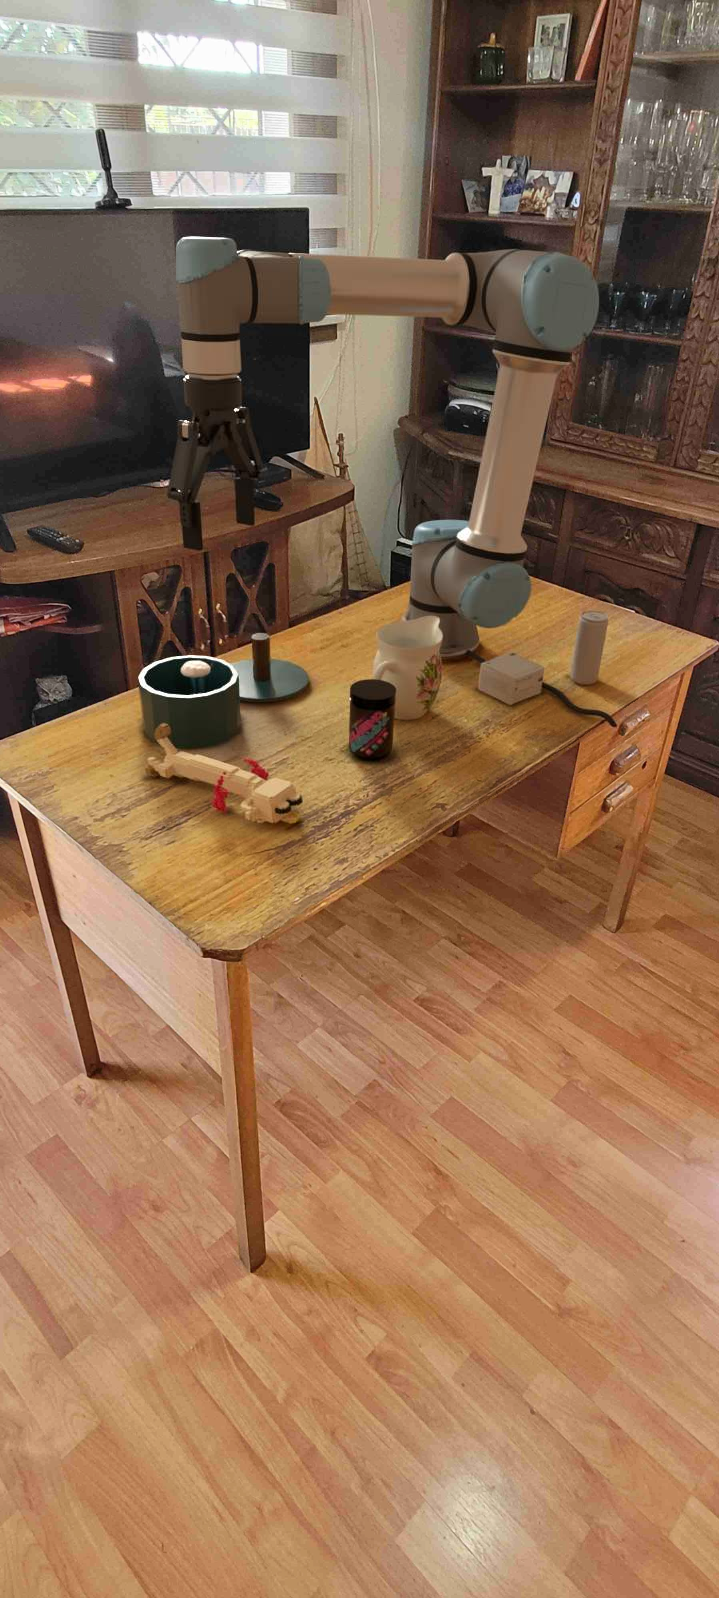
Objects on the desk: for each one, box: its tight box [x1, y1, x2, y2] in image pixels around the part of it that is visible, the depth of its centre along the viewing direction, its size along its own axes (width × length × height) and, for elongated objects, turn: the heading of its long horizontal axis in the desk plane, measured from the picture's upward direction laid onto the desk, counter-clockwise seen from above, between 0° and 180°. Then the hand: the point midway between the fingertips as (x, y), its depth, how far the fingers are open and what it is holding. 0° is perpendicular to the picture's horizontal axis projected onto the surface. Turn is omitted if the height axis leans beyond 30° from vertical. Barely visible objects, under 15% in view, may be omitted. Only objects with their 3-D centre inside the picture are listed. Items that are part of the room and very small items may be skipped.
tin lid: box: [230, 632, 310, 703], centre depth 156 cm, size 16×16×9 cm
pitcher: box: [371, 616, 443, 721], centre depth 147 cm, size 11×18×14 cm, turn 146°
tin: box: [137, 654, 242, 749], centre depth 143 cm, size 15×15×8 cm
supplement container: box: [348, 678, 396, 762], centre depth 137 cm, size 7×7×10 cm
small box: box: [477, 652, 545, 706], centre depth 157 cm, size 8×8×5 cm
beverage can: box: [569, 610, 609, 686], centre depth 160 cm, size 5×5×12 cm
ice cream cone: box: [181, 659, 215, 695], centre depth 144 cm, size 4×5×10 cm
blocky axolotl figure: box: [144, 723, 305, 825], centre depth 126 cm, size 10×9×25 cm
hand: (220, 535), depth 133 cm, fingers open, 13 cm apart
